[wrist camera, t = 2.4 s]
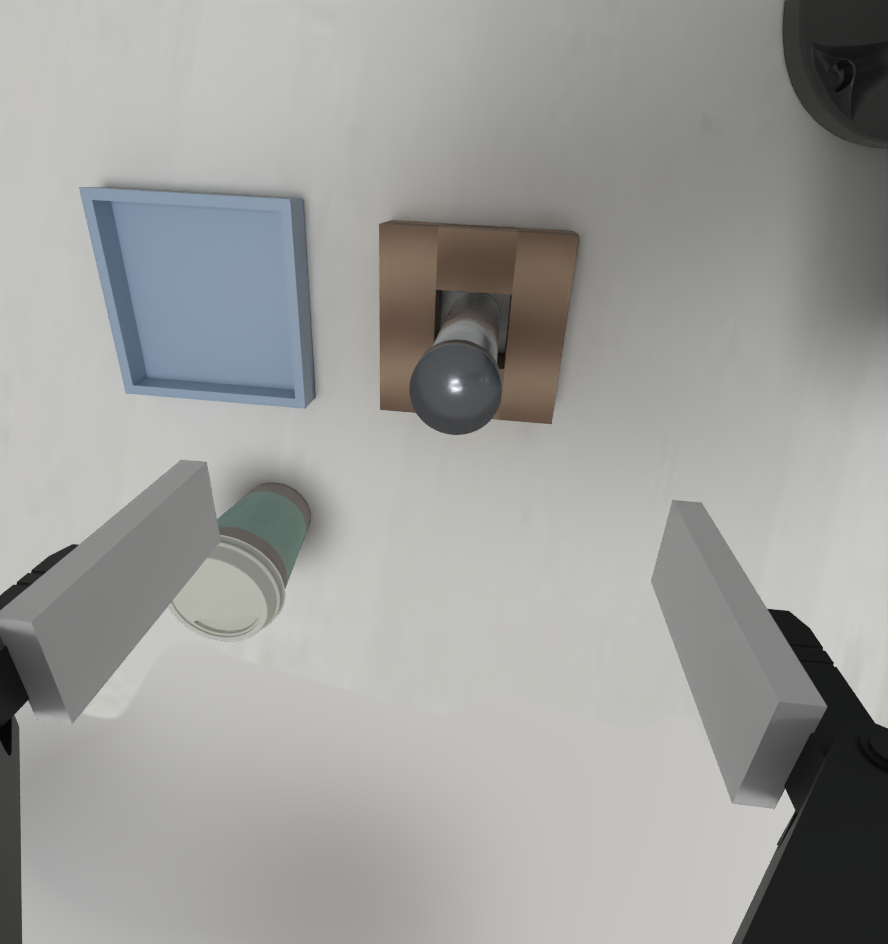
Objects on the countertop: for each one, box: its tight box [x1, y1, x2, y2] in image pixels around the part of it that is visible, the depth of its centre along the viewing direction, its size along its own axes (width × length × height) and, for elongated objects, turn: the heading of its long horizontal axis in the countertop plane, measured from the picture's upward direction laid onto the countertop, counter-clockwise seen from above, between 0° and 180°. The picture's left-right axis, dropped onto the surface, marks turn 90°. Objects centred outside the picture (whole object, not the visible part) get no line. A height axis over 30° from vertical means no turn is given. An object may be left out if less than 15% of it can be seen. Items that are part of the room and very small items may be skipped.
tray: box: [79, 187, 315, 408], centre depth 40 cm, size 14×14×2 cm
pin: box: [409, 292, 502, 435], centre depth 32 cm, size 4×4×16 cm
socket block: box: [379, 220, 579, 424], centre depth 38 cm, size 12×12×4 cm
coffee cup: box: [168, 483, 310, 642], centre depth 43 cm, size 8×8×12 cm
